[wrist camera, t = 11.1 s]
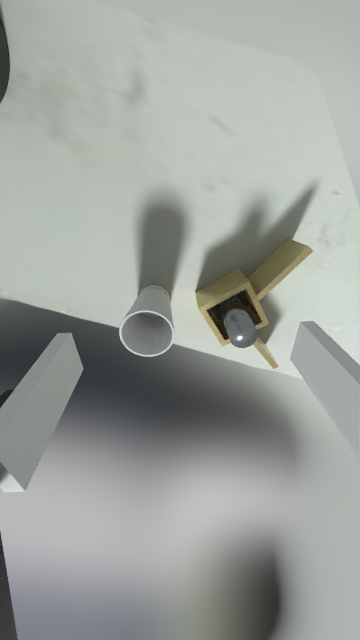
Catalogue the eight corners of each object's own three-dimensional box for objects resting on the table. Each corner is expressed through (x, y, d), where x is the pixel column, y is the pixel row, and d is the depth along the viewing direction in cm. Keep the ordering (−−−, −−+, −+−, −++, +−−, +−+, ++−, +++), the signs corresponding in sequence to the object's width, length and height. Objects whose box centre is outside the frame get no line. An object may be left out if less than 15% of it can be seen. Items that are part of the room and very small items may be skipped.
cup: (178, 315, 45) (179, 352, 34) (139, 322, 46) (128, 360, 35) (170, 277, 41) (168, 305, 31) (127, 285, 42) (111, 315, 31)
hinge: (194, 290, 42) (197, 307, 36) (289, 237, 38) (311, 245, 32) (236, 358, 50) (244, 381, 44) (319, 320, 46) (340, 340, 40)
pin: (212, 295, 43) (225, 332, 32) (231, 285, 42) (251, 319, 31) (221, 311, 45) (237, 351, 33) (240, 302, 44) (262, 340, 32)
